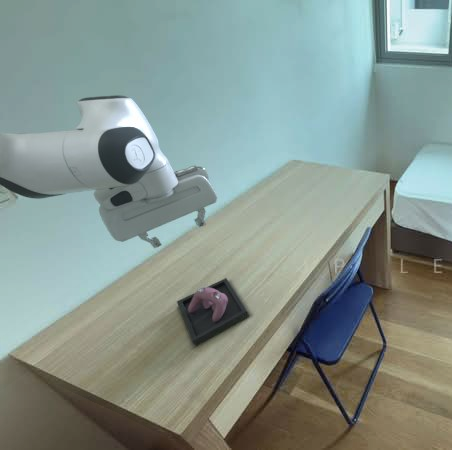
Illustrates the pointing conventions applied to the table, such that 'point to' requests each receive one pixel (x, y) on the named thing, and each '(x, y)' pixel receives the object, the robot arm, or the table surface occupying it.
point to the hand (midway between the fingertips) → (180, 235)
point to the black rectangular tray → (202, 318)
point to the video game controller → (209, 302)
